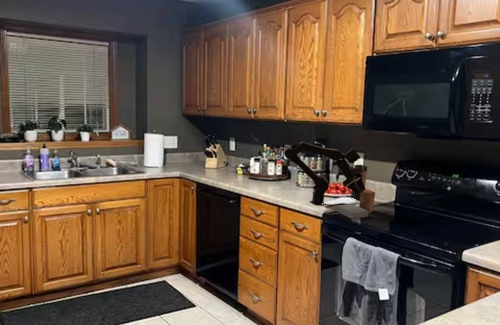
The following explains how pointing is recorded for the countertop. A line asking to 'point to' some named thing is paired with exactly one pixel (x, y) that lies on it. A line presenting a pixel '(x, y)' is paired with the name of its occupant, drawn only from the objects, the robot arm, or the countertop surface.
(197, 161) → the countertop surface
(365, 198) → the brown cylinder
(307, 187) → the countertop surface
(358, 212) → the dock
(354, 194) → the travel mug
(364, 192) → the cargo block
